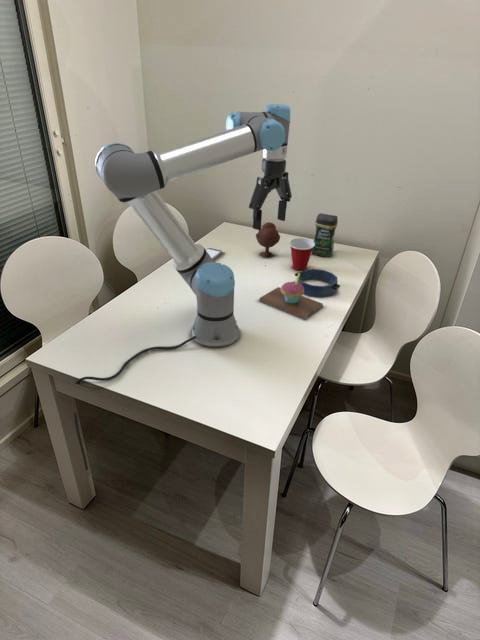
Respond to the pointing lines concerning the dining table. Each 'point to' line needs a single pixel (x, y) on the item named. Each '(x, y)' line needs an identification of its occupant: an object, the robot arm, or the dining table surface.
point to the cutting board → (291, 304)
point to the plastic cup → (301, 252)
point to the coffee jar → (324, 235)
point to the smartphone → (214, 252)
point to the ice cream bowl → (267, 238)
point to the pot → (318, 275)
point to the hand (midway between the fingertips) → (269, 224)
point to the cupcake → (292, 291)
